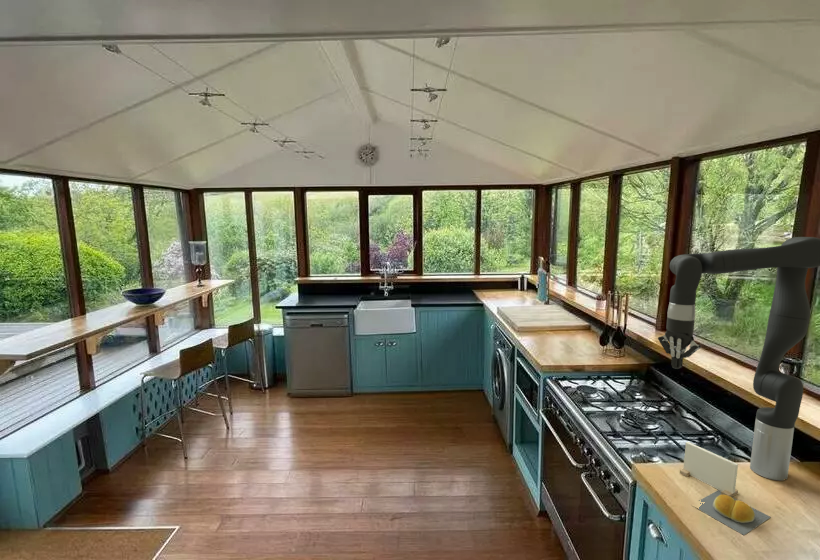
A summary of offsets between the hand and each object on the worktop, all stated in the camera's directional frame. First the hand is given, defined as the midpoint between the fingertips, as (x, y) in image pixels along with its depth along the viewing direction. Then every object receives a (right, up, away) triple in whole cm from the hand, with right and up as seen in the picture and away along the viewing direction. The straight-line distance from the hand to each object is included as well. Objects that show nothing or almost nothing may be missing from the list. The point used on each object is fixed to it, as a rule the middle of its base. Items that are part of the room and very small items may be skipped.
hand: (676, 368), depth 139 cm
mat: (+2, -36, -21) cm, 41 cm away
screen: (+4, -34, -9) cm, 35 cm away
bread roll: (+1, -36, -22) cm, 42 cm away
